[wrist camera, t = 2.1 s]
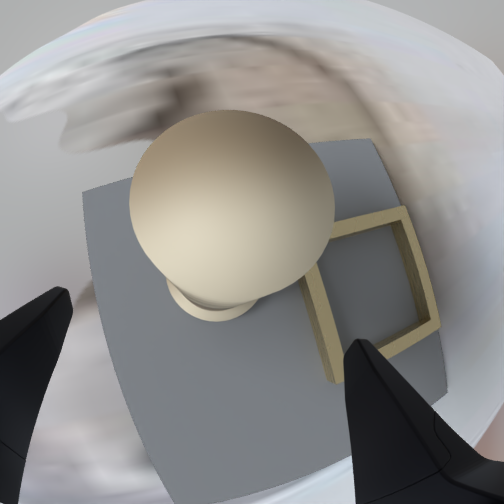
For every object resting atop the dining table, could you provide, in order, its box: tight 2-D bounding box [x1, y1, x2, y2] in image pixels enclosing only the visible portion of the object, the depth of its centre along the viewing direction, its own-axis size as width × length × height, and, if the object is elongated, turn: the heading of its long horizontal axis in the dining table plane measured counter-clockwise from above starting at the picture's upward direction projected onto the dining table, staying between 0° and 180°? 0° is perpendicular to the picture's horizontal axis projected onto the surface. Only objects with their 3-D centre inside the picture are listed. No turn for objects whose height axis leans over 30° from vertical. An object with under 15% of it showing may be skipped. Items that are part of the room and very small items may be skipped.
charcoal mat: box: [82, 139, 448, 504], centre depth 18 cm, size 24×24×1 cm
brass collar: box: [298, 205, 441, 385], centre depth 19 cm, size 10×10×2 cm
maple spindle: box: [129, 110, 335, 322], centre depth 12 cm, size 6×6×12 cm
